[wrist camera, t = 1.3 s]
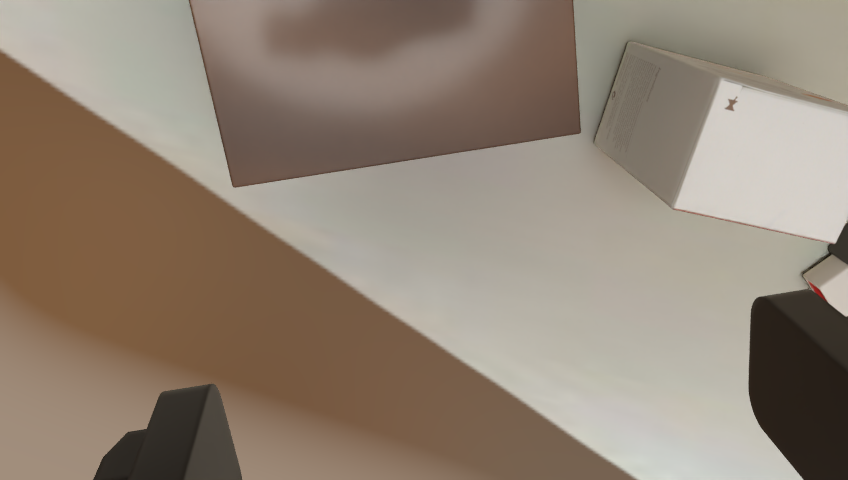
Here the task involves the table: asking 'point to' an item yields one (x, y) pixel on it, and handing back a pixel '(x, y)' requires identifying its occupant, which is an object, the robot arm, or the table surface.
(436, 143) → the lid
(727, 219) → the small box
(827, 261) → the usb drive
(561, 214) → the table surface
